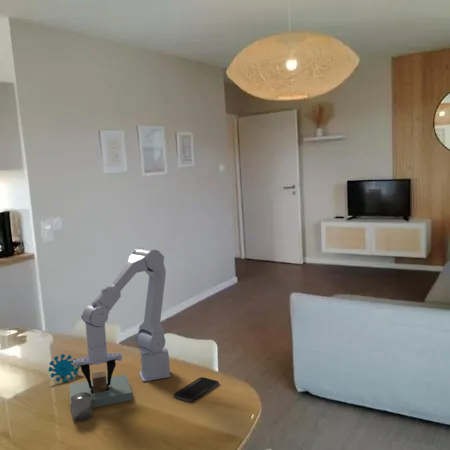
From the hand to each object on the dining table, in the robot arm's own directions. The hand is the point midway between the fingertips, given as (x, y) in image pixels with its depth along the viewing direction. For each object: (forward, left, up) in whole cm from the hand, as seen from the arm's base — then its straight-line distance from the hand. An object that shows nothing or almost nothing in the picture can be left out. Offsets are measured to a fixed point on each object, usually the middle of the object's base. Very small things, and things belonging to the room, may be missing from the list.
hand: (99, 385), depth 146 cm
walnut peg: (0, 0, -3) cm, 3 cm away
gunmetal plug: (+6, +11, -3) cm, 13 cm away
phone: (-29, +9, -4) cm, 31 cm away
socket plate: (0, 0, -3) cm, 3 cm away
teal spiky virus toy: (+10, -19, -4) cm, 22 cm away
